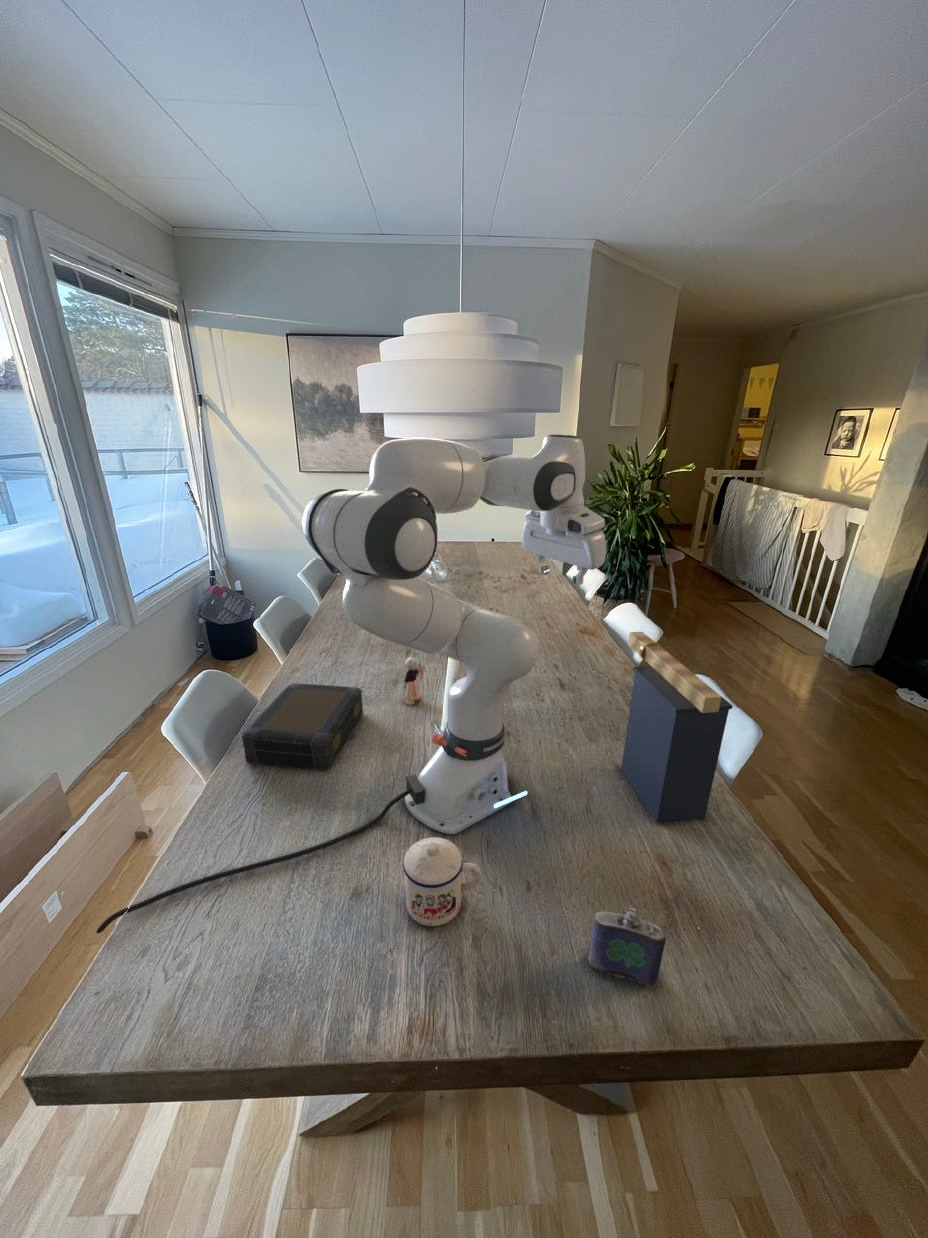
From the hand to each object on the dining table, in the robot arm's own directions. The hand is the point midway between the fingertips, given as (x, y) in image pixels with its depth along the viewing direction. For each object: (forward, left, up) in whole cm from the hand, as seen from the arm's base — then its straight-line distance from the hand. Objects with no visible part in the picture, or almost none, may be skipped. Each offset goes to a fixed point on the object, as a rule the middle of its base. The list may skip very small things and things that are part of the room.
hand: (560, 578), depth 112 cm
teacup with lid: (-52, -14, -39) cm, 67 cm away
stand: (-3, -29, -39) cm, 49 cm away
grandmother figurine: (-12, +36, -39) cm, 55 cm away
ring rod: (0, -26, -14) cm, 29 cm away
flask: (-43, -40, -39) cm, 71 cm away
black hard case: (-41, +42, -39) cm, 70 cm away
